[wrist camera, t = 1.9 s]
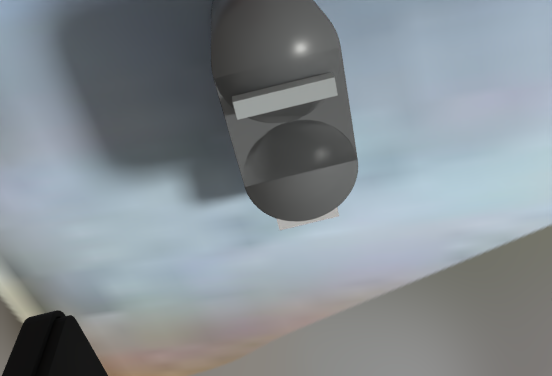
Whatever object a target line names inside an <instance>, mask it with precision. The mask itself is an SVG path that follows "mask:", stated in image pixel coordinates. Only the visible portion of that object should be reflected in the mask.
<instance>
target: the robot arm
mask: <svg viewBox="0 0 552 376" xmlns="http://www.w3.org/2000/svg"><path fill="white" fill-rule="evenodd" d="M2 376H108V375H107V373H106V371H105V369H104V368H103V366H102V364H101V362H100V361H99V359H98V357H97V356H96V354H95V352H94V350H93V349H92V347H91V345H90V343H89V342H88V340H87V338H86V336H85V335H84V333H83V331H82V329H81V328H80V326H79V324H78V322H77V321H76V319H75V318H74V317H73V316H72V315H69V316H65V314H64V313H63V312H61V311H53V312H49V313H45V314H41V315H37V316H33V317H29V318H27V319H26V320H25V322H24V323H23V325H22V328H21V330H20V333H19V335H18V337H17V340H16V343H15V345H14V347H13V350H12V352H11V355H10V357H9V360H8V362H7V365H6V367H5V370H4V372H3V374H2Z"/></svg>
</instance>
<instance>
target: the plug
mask: <svg viewBox="0 0 552 376" xmlns="http://www.w3.org/2000/svg"><path fill="white" fill-rule="evenodd" d="M211 67H212V74H213V78H214V82H215V85H216V89H217V92H218V96H219V99H220V103H221V106H222V109H223V113H224V116H225V120H226V123H227V127H228V130H229V134H230V137H231V141H232V144H233V148H234V151H235V155H236V158H237V162H238V165H239V168H240V172H241V175H242V179H243V182H244V186H245V189H246V191H247V194H248V196H249V197H250V199H251V200H252V202H253V203H254V204H255V205H256V206H257V207H258V208H259V209H260V210H261V211H263V212H264V213H266V214H268V215H269V216H272V217H274V218H277V222H278V225H279V229H280V230H283V229H287V228H292V227H296V226H300V225H304V224H308V223H313V222H317V221H321V220H325V219H329V218H333V217H338V216H339V213H338V208H337V207H338V206H339V205H340V204H341V203H342V202H343V201H344V200H345V199H346V198H347V196H348V195H349V193H350V192H351V190H352V188H353V186H354V184H355V181H356V178H357V173H358V159H357V153H356V146H355V139H354V133H353V126H352V119H351V113H350V106H349V99H348V93H347V86H346V79H345V73H344V66H343V59H342V53H341V46H340V42H339V38H338V35H337V33H336V30H335V28H334V26H333V25H332V23H331V22H330V20H329V19H328V17H327V16H326V15H325V14H324V13H323V11H322V10H321V9H320V8H319V7H318V5H317V4H316V3H315V2H314V1H313V0H213V3H212V9H211Z"/></svg>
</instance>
